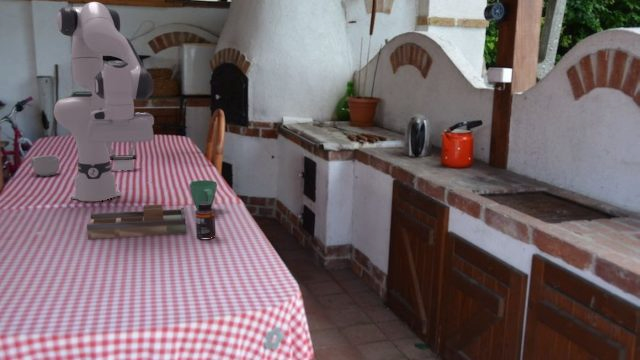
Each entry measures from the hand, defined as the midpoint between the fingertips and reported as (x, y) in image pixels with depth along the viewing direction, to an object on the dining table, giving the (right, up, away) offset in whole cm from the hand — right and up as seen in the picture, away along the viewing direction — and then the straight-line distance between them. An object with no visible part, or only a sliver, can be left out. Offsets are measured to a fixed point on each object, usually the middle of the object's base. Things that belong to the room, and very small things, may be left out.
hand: (122, 155), depth 205 cm
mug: (+23, -20, +25) cm, 39 cm away
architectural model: (-27, -4, +90) cm, 94 cm away
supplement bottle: (+28, -26, -4) cm, 38 cm away
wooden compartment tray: (+5, -24, +3) cm, 25 cm away
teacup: (-59, -6, +79) cm, 99 cm away
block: (+9, -21, +3) cm, 23 cm away
